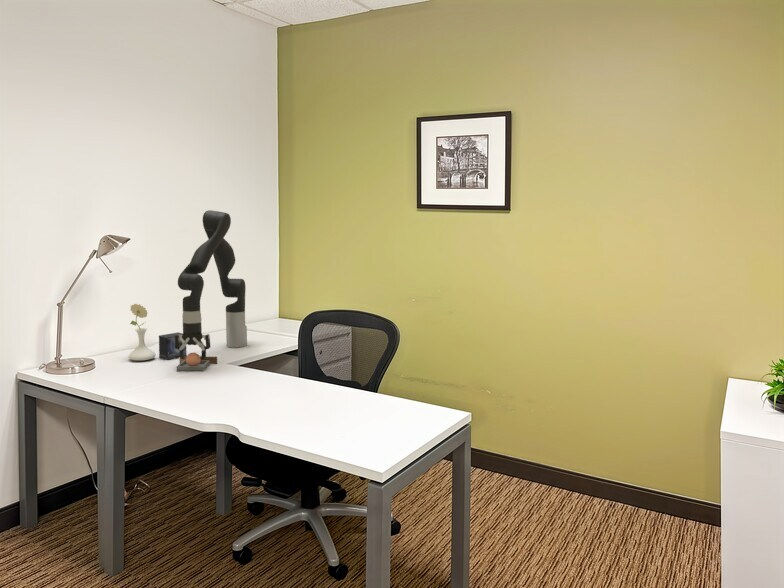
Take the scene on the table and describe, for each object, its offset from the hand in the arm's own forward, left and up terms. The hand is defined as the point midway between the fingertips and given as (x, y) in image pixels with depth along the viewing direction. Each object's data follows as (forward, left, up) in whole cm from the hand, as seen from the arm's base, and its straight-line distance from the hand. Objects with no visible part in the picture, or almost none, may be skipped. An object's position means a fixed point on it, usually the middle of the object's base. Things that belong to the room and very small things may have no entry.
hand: (193, 358), depth 271 cm
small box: (-10, -22, -4) cm, 25 cm away
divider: (-7, -4, -4) cm, 9 cm away
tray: (0, 0, -4) cm, 4 cm away
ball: (0, 0, -3) cm, 3 cm away
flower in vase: (0, -31, -4) cm, 32 cm away
